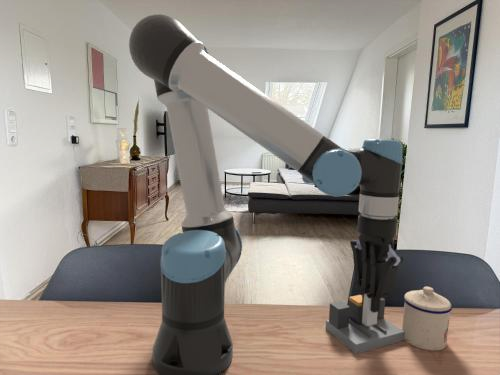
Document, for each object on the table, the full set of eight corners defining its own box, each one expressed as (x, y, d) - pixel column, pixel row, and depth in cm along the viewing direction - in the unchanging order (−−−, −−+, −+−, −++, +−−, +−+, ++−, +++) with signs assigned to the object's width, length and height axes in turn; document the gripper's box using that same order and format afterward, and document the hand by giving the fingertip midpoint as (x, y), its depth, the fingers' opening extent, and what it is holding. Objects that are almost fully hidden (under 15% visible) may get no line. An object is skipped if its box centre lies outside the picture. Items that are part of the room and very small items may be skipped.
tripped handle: (357, 325, 75) (358, 302, 75) (347, 318, 78) (349, 296, 77) (368, 322, 77) (370, 300, 76) (358, 316, 79) (360, 294, 79)
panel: (355, 353, 69) (357, 323, 68) (325, 328, 78) (327, 301, 77) (404, 340, 74) (406, 311, 73) (370, 318, 83) (372, 292, 82)
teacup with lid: (455, 354, 69) (461, 299, 68) (407, 350, 70) (413, 295, 69) (432, 323, 81) (437, 276, 79) (391, 320, 82) (395, 273, 81)
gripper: (417, 221, 66) (406, 335, 69) (369, 208, 78) (362, 306, 81) (387, 223, 63) (377, 343, 67) (342, 210, 75) (336, 312, 78)
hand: (369, 323), depth 74 cm, fingers closed
